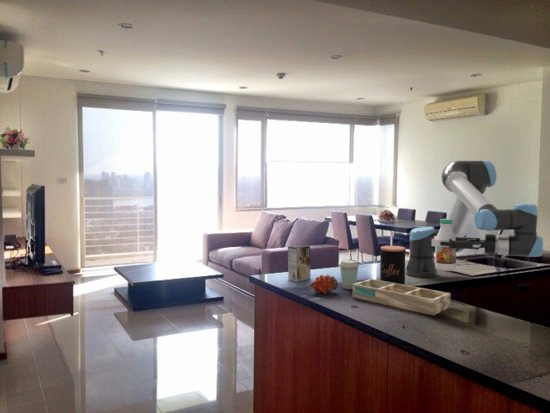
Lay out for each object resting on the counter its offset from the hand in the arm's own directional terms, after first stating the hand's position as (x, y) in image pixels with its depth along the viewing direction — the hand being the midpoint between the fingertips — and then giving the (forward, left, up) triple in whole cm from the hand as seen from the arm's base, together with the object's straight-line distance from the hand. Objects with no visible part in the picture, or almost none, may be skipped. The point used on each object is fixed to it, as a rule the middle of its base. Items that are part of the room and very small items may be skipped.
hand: (432, 241), depth 190 cm
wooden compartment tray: (+13, -7, -24) cm, 28 cm away
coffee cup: (+7, -35, -24) cm, 43 cm away
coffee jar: (-6, -21, -24) cm, 32 cm away
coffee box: (+10, -62, -24) cm, 68 cm away
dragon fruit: (+22, -38, -24) cm, 50 cm away
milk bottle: (-2, +5, -11) cm, 12 cm away
